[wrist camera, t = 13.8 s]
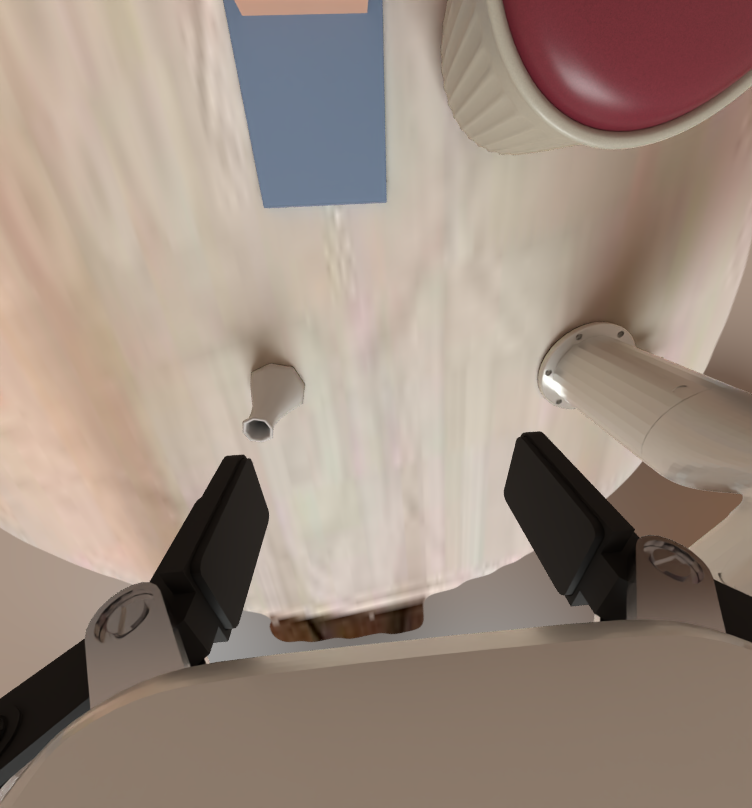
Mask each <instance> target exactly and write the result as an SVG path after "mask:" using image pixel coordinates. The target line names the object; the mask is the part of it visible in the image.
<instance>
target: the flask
mask: <svg viewBox="0 0 752 808" xmlns="http://www.w3.org/2000/svg"><path fill="white" fill-rule="evenodd" d="M304 389H305V385H304V383H303V382H302V380H301V378H300V377H299V375H298V374H297V372H296V371H295V369H294V368H293V367H288V366H283V365H277V364H271V363H270V364H268V365H266V366H264V367H262V368H259V369H257V370H255V371H253V372H251V397H252V405H253V407H252V412H251V415H250V417H249V418H248V419H246V420H244V421H243V433H244V434H245V436H246V437H247V438H248V439H249V440H250V441H255V442H264V441H267V440H269V439H271V438H273V428H274V426H275V424H276V423H277V422H278V421H279V420H280V419H281V418H282V417H283V416H285V415H286V414H288V413H289V412H290V411H292V410H294V409H295V408H297V407H298V406H300V405H301V404H303V397H304Z"/></svg>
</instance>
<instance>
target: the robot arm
mask: <svg viewBox="0 0 752 808" xmlns="http://www.w3.org/2000/svg"><path fill="white" fill-rule="evenodd" d="M538 385H539V389H540V392H541V394H542V395H543V396H544V398H545V399H546V400H547V401H549V402H550V403H551V404H553V405H554V406H556V407H559V408H563V409H577V410H578V411H580V412H581V413H582V414H584V415H585V416H586V417H587V418H589V419H590V420H591V421H592V422H594V423H595V424H596V425H598V426H599V427H600V428H601V429H603V430H604V431H605V432H606V433H608V434H609V435H610V436H612V437H613V438H614V439H615V440H617V441H618V442H619V443H620V444H622V445H623V446H624V447H625V448H627V449H628V450H629V451H631V452H632V453H633V454H634V455H636V456H637V457H638V458H639V459H641V460H642V461H643V462H645V463H646V464H647V465H649V466H650V467H651V468H652V469H654V470H655V471H656V472H658V473H659V474H660V475H662V476H663V477H665V478H667V479H669V480H671V481H672V482H675V483H677V484H680V485H683V486H686V487H690V488H694V489H699V490H706V491H713V492H724V493H737V494H742V495H743V500H742V502H741V503H740V505H738V506H737V507H736V508H735V509H734V510H733V511H732V512H731V513H730V514H729V516H728V517H727V518H726V519H724V520H723V521H722V522H721V523H719V524H718V525H717V526H715V527H714V528H713V529H712V530H710V531H709V532H708V533H707V534H706V535H704V536H703V537H702V538H700V539H699V540H698V541H697V542H696V543H694V544H693V545H692V546H690V547H689V548H688V549H687V548H686V547H684V546H683V545H681V544H679V543H677V542H675V541H673V540H670V539H667V538H664V537H661V536H654V535H647V536H643V537H641V538H639V537H638V536H637V535H636V534H635V533H634V530H635V529H634V528H633V527H632V526H631V525H630V524H629V523H628V522H627V521H626V520H625V519H624V518H623V516H621V514H620V513H619V512H618V511H617V510H616V509H615V508H614V507H613V506H612V505H611V504H610V503H609V502H608V501H607V500H606V499H605V498H604V497H603V495H602V494H601V493H600V492H599V491H598V490H597V489H596V488H595V487H594V486H593V485H592V484H591V483H590V482H589V481H588V480H587V479H586V478H585V477H584V475H583V474H582V473H581V472H580V471H579V470H578V469H577V468H576V467H575V466H574V465H573V464H572V463H571V462H570V461H569V460H568V459H567V458H566V457H565V456H564V454H563V453H562V452H561V451H560V450H559V449H558V448H557V447H556V446H555V445H554V444H553V443H552V442H551V441H550V440H549V439H548V438H547V437H546V436H545V434H543V433H542V432H526V433H523V434H522V435H521V437H518V438H517V440H516V444H515V448H514V452H513V456H512V460H511V464H510V468H509V472H508V476H507V480H506V484H505V488H504V497H505V500H506V502H507V504H508V506H509V507H510V509H511V511H512V513H513V514H514V516H515V518H516V520H517V521H518V523H519V525H520V527H521V528H522V530H523V532H524V534H525V535H526V537H527V539H528V541H529V542H530V544H531V546H532V548H533V549H534V551H535V553H536V554H537V556H538V558H539V560H540V561H541V563H542V565H543V567H544V569H545V570H546V572H547V574H548V576H549V577H550V579H551V581H552V583H553V584H554V586H555V588H556V589H557V591H558V592H559V593H560V594H561V595H565V597H566V598H567V600H568V602H569V604H570V605H571V606H579V605H589V606H590V607H591V609H592V610H593V612H594V614H595V615H594V622H589V623H576V624H564V625H553V626H543V627H533V628H523V629H513V630H503V631H493V632H482V633H473V634H463V635H453V636H444V637H434V638H424V639H415V640H405V641H396V642H386V643H376V644H367V645H358V646H349V647H340V648H330V649H322V650H312V651H303V652H294V653H285V654H276V655H268V656H260V657H253V658H245V659H237V660H230V661H222V662H215V663H210V662H209V660H208V657H207V656H208V655H209V654H210V651H211V648H212V645H213V643H216V642H226V641H228V640H229V637H230V634H231V630H232V629H233V628H236V627H237V626H238V624H239V621H240V617H241V614H242V611H243V607H244V604H245V601H246V597H247V594H248V590H249V587H250V583H251V580H252V576H253V573H254V569H255V566H256V563H257V559H258V556H259V552H260V549H261V545H262V542H263V538H264V535H265V531H266V528H267V525H268V521H269V511H268V508H267V505H266V502H265V499H264V496H263V493H262V490H261V487H260V484H259V481H258V478H257V475H256V472H255V469H254V466H253V463H252V461H251V459H249V458H248V459H247V458H246V456H245V455H232V456H226V457H224V459H223V460H222V462H221V464H220V466H219V467H218V469H217V471H216V473H215V474H214V476H213V478H212V480H211V481H210V483H209V485H208V487H207V489H206V490H205V492H204V494H203V496H202V497H201V498H200V499H198V500H197V502H196V503H195V504H194V506H193V508H192V510H191V511H190V513H189V515H188V517H187V518H186V520H185V522H184V523H183V525H182V527H181V529H180V530H179V532H178V534H177V536H176V537H175V539H174V541H173V542H172V544H171V546H170V548H169V549H168V551H167V553H166V555H165V556H164V558H163V560H162V561H161V563H160V565H159V567H158V568H157V570H156V572H155V574H154V575H153V577H152V579H151V580H150V582H141V583H138V584H134V585H131V586H129V587H127V588H125V589H123V590H121V591H120V592H118V593H117V594H115V595H114V596H113V597H111V598H110V599H109V600H108V601H107V602H106V603H105V604H104V605H103V606H102V607H100V608H99V610H98V611H97V612H96V614H95V615H94V617H93V618H92V619H91V621H90V623H89V625H88V627H87V629H86V635H85V639H83V640H82V641H81V642H79V643H78V644H77V645H75V646H74V647H72V648H71V649H69V650H68V651H67V652H65V653H64V654H62V655H61V656H60V657H58V658H57V659H55V660H54V661H52V662H51V663H50V664H48V665H47V666H45V667H44V668H43V669H41V670H40V671H38V672H37V673H36V674H34V675H33V676H32V677H30V678H29V679H27V680H26V681H24V682H23V683H22V684H20V685H19V686H17V687H16V688H14V689H13V690H12V691H10V692H9V693H7V694H6V695H5V696H3V697H2V698H1V699H0V808H752V394H751V393H748V392H746V391H743V390H741V389H738V388H735V387H733V386H730V385H728V384H726V383H723V382H720V381H718V380H716V379H713V378H711V377H708V376H706V375H703V374H701V373H698V372H696V371H693V370H691V369H688V368H686V367H684V366H681V365H679V364H676V363H674V362H671V361H669V360H666V359H664V358H663V357H659V356H656V355H654V354H651V353H649V352H647V351H644V350H642V349H639V348H637V347H635V342H634V339H633V337H632V335H631V334H630V333H629V332H628V331H627V330H626V329H625V328H623V327H621V326H619V325H616V324H613V323H608V322H594V323H590V324H586V325H583V326H580V327H578V328H576V329H574V330H572V331H571V332H569V333H567V334H566V335H565V336H563V337H562V338H561V339H560V340H558V341H557V342H556V343H555V345H554V346H553V347H552V348H551V349H550V350H549V352H548V353H547V355H546V356H545V358H544V360H543V362H542V364H541V367H540V370H539V375H538Z"/></svg>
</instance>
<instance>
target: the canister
mask: <svg viewBox="0 0 752 808" xmlns="http://www.w3.org/2000/svg"><path fill="white" fill-rule="evenodd" d="M442 33H443V39H442V44H441V55H442V67H441V71H442V75H443V78H444V90H445V92H446V95H447V99H448V105H449V106H450V108H451V110H452V112H453V117H454V119H455V120H456V121H457V122H458V124H459V126H460V129H461V130H463V131H464V132H465V133H466V134H467V136H468V138H469V139H470V140H473V141H474V142H475V143H476V144H477V145H478V146H479V147H483V148H485V149H487V151H489V152H497V153H499V154H501V155H506V154H511V155H521V154H530V153H537V152H543V151H549V150H554V149H560V148H566V147H571V146H577V145H585V146H588V147H593V148H599V149H610V150H618V149H630V148H637V147H642V146H646V145H650V144H653V143H656V142H660V141H662V140H665V139H668V138H671V137H673V136H675V135H678V134H680V133H682V132H684V131H686V130H688V129H690V128H692V127H694V126H696V125H698V124H699V123H701V122H703V121H705V120H706V119H708V118H709V117H711V116H713V115H714V114H716V113H717V112H719V111H720V110H721V109H723V108H724V107H726V106H727V105H728V104H730V103H731V102H732V101H734V100H735V99H736V98H738V97H739V96H740V95H741V94H743V93H744V92H745V91H746V90H747V89H749V88H750V87H751V86H752V0H447V7H446V12H445V16H444V21H443V30H442Z"/></svg>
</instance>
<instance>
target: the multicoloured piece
mask: <svg viewBox="0 0 752 808" xmlns="http://www.w3.org/2000/svg"><path fill="white" fill-rule="evenodd" d="M223 2H224V7H225V12H226V17H227V22H228V27H229V33H230V38H231V43H232V48H233V53H234V58H235V63H236V68H237V73H238V78H239V83H240V89H241V94H242V99H243V104H244V109H245V114H246V119H247V124H248V129H249V134H250V139H251V144H252V150H253V155H254V160H255V165H256V170H257V175H258V180H259V185H260V190H261V195H262V200H263V206H264V208H281V207H302V206H324V205H345V204H366V203H386V202H387V198H386V151H385V103H384V56H383V8H382V0H223Z"/></svg>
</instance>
